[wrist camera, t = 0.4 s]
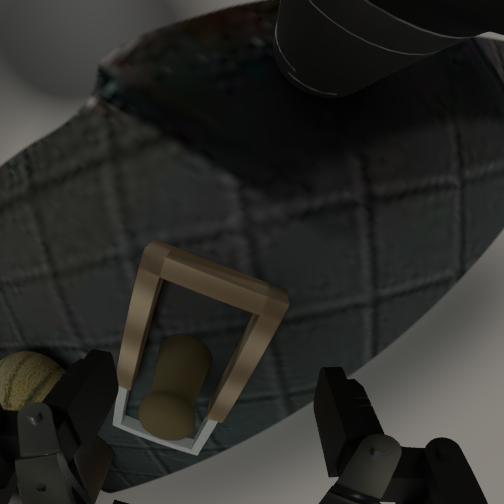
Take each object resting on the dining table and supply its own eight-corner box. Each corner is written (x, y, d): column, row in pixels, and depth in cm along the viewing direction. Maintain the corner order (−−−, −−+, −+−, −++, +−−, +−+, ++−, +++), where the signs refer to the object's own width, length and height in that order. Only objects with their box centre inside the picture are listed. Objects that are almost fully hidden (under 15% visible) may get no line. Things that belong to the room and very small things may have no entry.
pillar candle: (103, 433, 39) (72, 501, 24) (121, 463, 42) (99, 524, 27) (59, 421, 39) (25, 479, 25) (79, 451, 42) (53, 506, 28)
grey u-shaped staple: (123, 374, 33) (118, 384, 32) (219, 409, 35) (218, 420, 33) (116, 415, 36) (112, 425, 35) (198, 445, 38) (197, 455, 36)
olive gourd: (222, 364, 32) (211, 441, 22) (182, 381, 33) (162, 453, 23) (189, 325, 31) (163, 400, 20) (149, 347, 32) (116, 417, 21)
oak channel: (154, 238, 28) (144, 248, 25) (286, 289, 29) (289, 304, 26) (123, 368, 33) (114, 384, 30) (224, 405, 35) (222, 423, 32)
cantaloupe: (37, 395, 37) (-2, 454, 23) (8, 323, 32) (-52, 381, 18) (109, 417, 37) (76, 493, 23) (84, 342, 32) (25, 426, 18)
